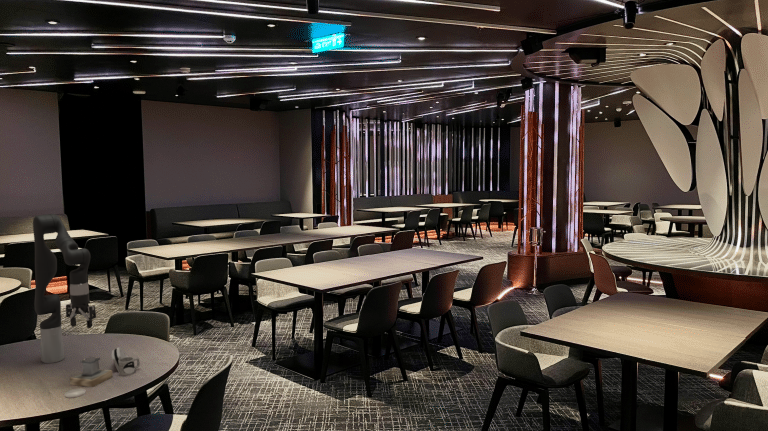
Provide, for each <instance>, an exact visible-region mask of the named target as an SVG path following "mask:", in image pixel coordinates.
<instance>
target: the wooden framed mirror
mask: <svg viewBox="0 0 768 431" xmlns="http://www.w3.org/2000/svg"><path fill="white" fill-rule="evenodd" d="M99 370H101V372H100V373H98V374H96V375H94V376H92V377H89V376H81V374H83V371H82V372H81V373H78V374H76V375H75V376H72V377H70V378H69V382H70V386H78V387H79V386H81V387H87V388H88V387H89V388H94V387H96V386H98V385H99V384H102V383H104V382H105V381H107V380H109V379H111V378H113V376H114V375H113V370H111V369H100V368H99Z"/></svg>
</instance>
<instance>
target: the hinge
mask: <svg viewBox="0 0 768 431" xmlns="http://www.w3.org/2000/svg"><path fill="white" fill-rule="evenodd" d="M125 357H130V356H128V355H127V354H126V352H125V351H124V349H123V348H122V346H118V347H117V348H114V349H112V350H111V360H112V362H113V364H114V366H115V368H116V370H117V372H118V373H119V362H118V360H119V359H121V358H125Z"/></svg>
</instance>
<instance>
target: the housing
mask: <svg viewBox="0 0 768 431" xmlns="http://www.w3.org/2000/svg"><path fill="white" fill-rule="evenodd" d="M100 360H101V357H98V356H89V357H88V356H87V357H86V358H83V359H82V360H80V364H82V372H83V374H81V376H89V377H92V376H94V375H96V374H98V373H100V372H101V370H102V369H100V363H99V361H100ZM99 369H100V370H99Z"/></svg>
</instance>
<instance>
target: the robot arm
mask: <svg viewBox="0 0 768 431" xmlns="http://www.w3.org/2000/svg"><path fill="white" fill-rule="evenodd" d="M32 231H33V240H34V276H35V289H34V291H35V292H34V311H35V314H36V315H38V316H44V315H49V314H50V316H48V317H47V318H46V319H44V320H42V321H40V323H39V330H40V343H39V351H40V353H39V354H40V361H41V362H42V363H45V364H53V363H58V362H60V361H63V360H64V359H65V357H64V356H65V355H64V341H63V329H62V305H61V304H62V303H61V298H60V296H59V294H56V293H54V294H47V295H46V294H45V293H46V289H47V288H48V286H49V285H50V283H51V281H52V280H53V279H54V277H55V276H56V274H57V271H58V259H57V255H56V254H54V251H52V250H51V249H50V247H49V246H48V245H47V243H46V241H45V237H44V236H45V235H49V234H55V233H56V234H57V235H56V237H55V245H56V247H57V248H58V250H59V251H60V252H61V253H62V255H63V261H64V263H65V264H66V265H68V266H78V267H77V268H76V269H73V270H71V271H70V272H69V296H70V297H69V299H70V303H68V304H66V305H65V317H66V318H69V319H70V320H69V321H70V327H73V328H74V327H76V326H77V318H76V317H77V316H79V315H81V316H82V317H83V318H84V317H85V319H86V328H87V329H91V328H92V327H93V319H96V318H97V314H96V313H97V312H96V305H89V302H90V290H89V288H90V286H89V282H88V272H89V270H88V269H89V266H90V262H91V252H90V251H89V249H87V248H84V247H83V248H79V245H78V243H76V241H75V240H74V239H73V238H72V237H71V236H70V234H69V232H68V230H67V228H66V225H65V224H64V222H63V221H62V219H61V217H60V216H59V215H57V214H55V213H51V214H50V213H49V214H41V215H40V214H39V215H35V216H34V217H33V220H32Z"/></svg>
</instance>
